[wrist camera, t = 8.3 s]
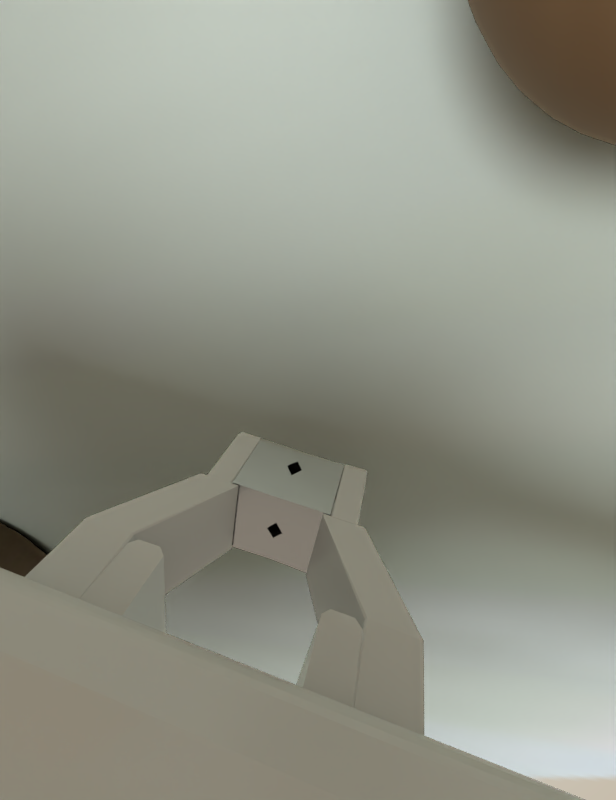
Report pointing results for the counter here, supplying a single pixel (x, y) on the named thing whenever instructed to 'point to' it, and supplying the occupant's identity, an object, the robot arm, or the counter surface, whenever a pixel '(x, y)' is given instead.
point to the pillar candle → (18, 552)
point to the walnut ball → (558, 57)
